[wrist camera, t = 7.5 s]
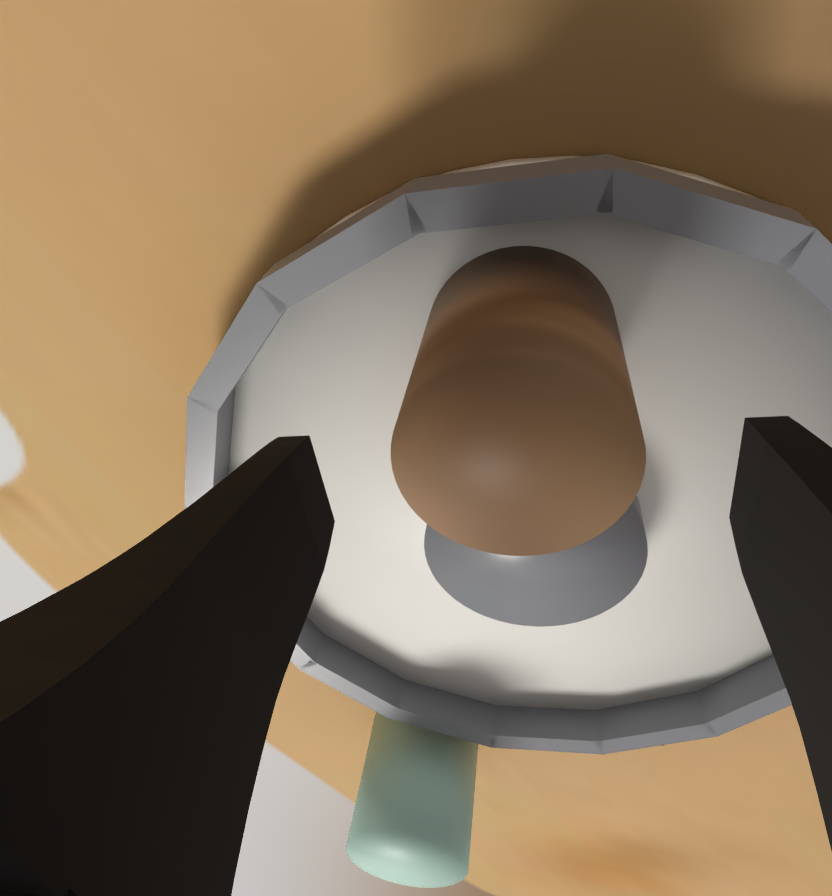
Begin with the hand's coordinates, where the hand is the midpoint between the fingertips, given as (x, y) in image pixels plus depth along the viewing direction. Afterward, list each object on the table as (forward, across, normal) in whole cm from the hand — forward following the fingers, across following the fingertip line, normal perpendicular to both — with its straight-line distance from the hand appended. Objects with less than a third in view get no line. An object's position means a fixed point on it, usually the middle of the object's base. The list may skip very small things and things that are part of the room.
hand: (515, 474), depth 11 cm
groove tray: (+6, 0, +6) cm, 8 cm away
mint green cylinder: (+6, +5, +18) cm, 20 cm away
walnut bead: (+5, 0, 0) cm, 5 cm away
